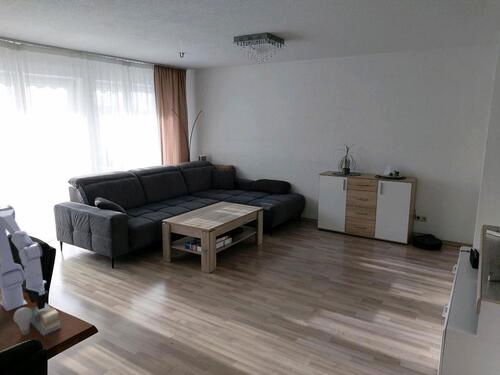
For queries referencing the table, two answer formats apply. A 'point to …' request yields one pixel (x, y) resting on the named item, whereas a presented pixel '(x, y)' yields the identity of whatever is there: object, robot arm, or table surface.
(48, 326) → the birch cube
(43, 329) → the steps
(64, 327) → the table surface
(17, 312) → the lightbulb
